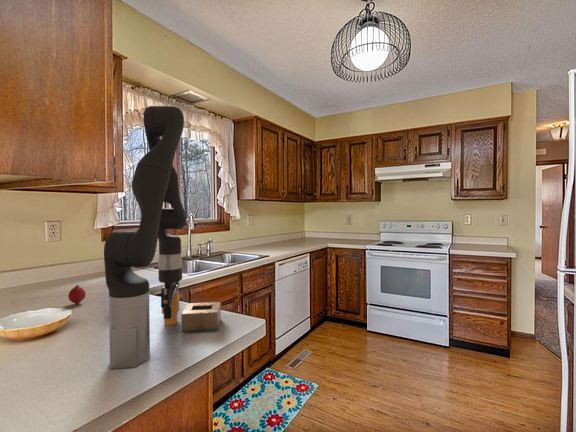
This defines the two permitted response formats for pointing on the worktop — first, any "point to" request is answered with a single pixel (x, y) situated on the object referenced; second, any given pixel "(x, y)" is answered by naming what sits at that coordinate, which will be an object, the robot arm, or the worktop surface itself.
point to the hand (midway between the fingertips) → (170, 314)
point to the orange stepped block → (172, 311)
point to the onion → (76, 294)
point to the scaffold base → (201, 317)
